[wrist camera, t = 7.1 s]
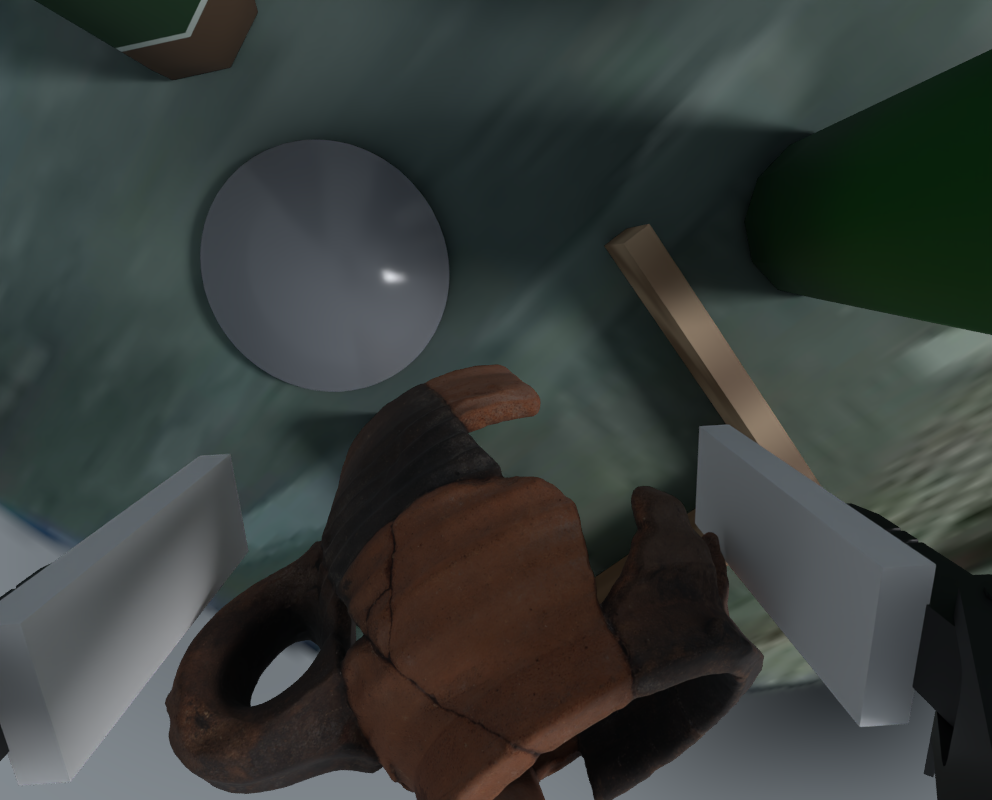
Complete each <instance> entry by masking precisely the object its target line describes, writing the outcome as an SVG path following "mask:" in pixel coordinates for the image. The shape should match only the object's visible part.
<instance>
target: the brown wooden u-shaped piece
mask: <svg viewBox="0 0 992 800" xmlns="http://www.w3.org/2000/svg"><path fill="white" fill-rule="evenodd" d="M605 248H606V249H607V251H608V252H609V254H610V255H611V257H612V258H613V260H614V261H615V262H616V264H617V265H618V267H619V268H620V270H621V271H622V273H623V274H624V276H625V277H626V279H627V280H628V281H629V283H630V284H631V286H632V287H633V289H634V290H635V292H636V293H637V295H638V296H639V298H640V299H641V300H642V302H643V303H644V305H645V306H646V308H647V309H648V311H649V312H650V314H651V315H652V317H653V318H654V319H655V321H656V322H657V324H658V325H659V327H660V328H661V330H662V331H663V333H664V334H665V336H666V337H667V339H668V340H669V341H670V343H671V344H672V346H673V347H674V349H675V350H676V352H677V353H678V355H679V356H680V358H681V359H682V360H683V362H684V363H685V365H686V366H687V368H688V369H689V371H690V372H691V374H692V375H693V377H694V378H695V379H696V381H697V382H698V384H699V385H700V387H701V388H702V390H703V391H704V393H705V394H706V396H707V397H708V398H709V400H710V401H711V403H712V404H713V406H714V407H715V409H716V410H717V412H718V413H719V415H720V416H721V418H722V419H723V420H724V422H725V423H726V425H728V424H729V425H730V426H732V427H733V428H735V429H736V430H738V431H739V432H741V433H742V434H744V435H745V436H747V437H748V438H750V439H751V440H753V441H754V442H756V443H757V444H759V445H760V446H762V447H763V448H765V449H766V450H767V451H769V452H770V453H772V454H773V455H775V456H776V457H778V458H779V459H781V460H782V461H784V462H785V463H787V464H788V465H790V466H791V467H793V468H794V469H796V470H797V471H799V472H800V473H801V474H803V475H804V476H806V477H807V478H809V479H810V480H812V481H813V482H815V483H816V484H818V485H819V486H821V485H820V484H819V482H818V480H817V479H816V477H815V476H814V474H813V473H812V471H811V470H810V468H809V467H808V465H807V464H806V462H805V461H804V459H803V458H802V456H801V454H800V453H799V451H798V450H797V448H796V447H795V445H794V444H793V442H792V441H791V439H790V438H789V436H788V435H787V433H786V432H785V430H784V429H783V427H782V425H781V424H780V422H779V421H778V419H777V418H776V416H775V415H774V413H773V412H772V410H771V409H770V407H769V406H768V404H767V403H766V401H765V399H764V398H763V396H762V395H761V393H760V392H759V390H758V389H757V387H756V386H755V384H754V383H753V381H752V380H751V378H750V377H749V375H748V374H747V372H746V370H745V369H744V367H743V366H742V364H741V363H740V361H739V360H738V358H737V357H736V355H735V354H734V352H733V351H732V349H731V348H730V346H729V345H728V343H727V341H726V340H725V338H724V337H723V335H722V334H721V332H720V331H719V329H718V328H717V326H716V325H715V323H714V322H713V320H712V319H711V317H710V315H709V314H708V312H707V311H706V309H705V308H704V306H703V305H702V303H701V302H700V300H699V299H698V297H697V296H696V294H695V293H694V291H693V290H692V288H691V286H690V285H689V283H688V282H687V280H686V279H685V277H684V276H683V274H682V273H681V271H680V270H679V268H678V267H677V265H676V264H675V262H674V261H673V259H672V257H671V256H670V254H669V253H668V251H667V250H666V248H665V247H664V245H663V244H662V242H661V241H660V239H659V238H658V236H657V235H656V233H655V231H654V230H653V228H652V227H651V225H650V224H646V225H641V226H636V227H631V228H627V229H625V230H624V231H623V232H621V233H620V234H619V235H618V236H616V237H615V238H614V239H612V240H611V241H610V242H608V243H607V244H606V245H605ZM695 512H696V508H695V509H694V510H692V511H691V512H689V513H688V517H689V521H690V524H691V526H692V528H693V529H694V530H695V531H696V532H697V533H698V534H699V535H700V536H701V537H702V536H703V535H704V534H703V533H702V531H701V530H700V529H699V528H698V526H697V525H696V524H695ZM628 555H629V554H628ZM628 555H627V556H625V557H624V558H622V559H621V560H620V561H618V562H617V563H615V564H614V565H612V566H611V567H609V568H608V569H606V570H605V571H604V572H602V573H601V574H599V575H598V576H596V577H595V581H596V587H597V598H598V601H599V604H601V603H602V602H603V601H604V599H605V598H606V596H607V595H608V593H609V592H610V590H611V587H612V586H613V584H614V583H615V582H616V580H617V579H618V578H619V576H620V574H621V572H622V569H623V567H624V564H625V562H626V560H627V557H628ZM725 562H726V561H725ZM726 566H728V564H727V562H726Z"/></svg>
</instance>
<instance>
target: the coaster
mask: <svg viewBox="0 0 992 800" xmlns="http://www.w3.org/2000/svg"><path fill="white" fill-rule="evenodd" d="M200 261H201V274H202V279H203V284H204V289H205V292H206V295H207V299H208V302H209V305H210V307H211V309H212V311H213V313H214V315H215V318H216V320H217V321H218V323H219V325H220V326H221V328H222V329H223V331H224V333H225V334H226V335H227V337H228V338H229V339H230V340H231V342H232V343H233V344H234V345H235V347H236V348H237V349H238V350H239V351H240V352H241V353H242V354H243V355H244V356H245V357H247V358H248V359H249V360H250V361H251V362H253V363H254V364H255V365H257V366H258V367H259V368H260V369H262V370H264V371H265V372H267V373H269V374H270V375H272V376H274V377H276V378H278V379H280V380H283V381H285V382H287V383H289V384H293V385H296V386H299V387H302V388H306V389H312V390H317V391H331V392H338V391H351V390H356V389H361V388H365V387H368V386H371V385H374V384H377V383H380V382H382V381H384V380H386V379H388V378H390V377H392V376H394V375H395V374H397V373H398V372H399V371H401V370H402V369H404V368H405V367H406V366H408V365H409V364H410V363H411V362H412V361H413V360H414V359H415V358H416V357H417V356H418V355H419V354H420V353H421V352H422V350H423V349H424V348H425V347H426V346H427V344H428V343H429V341H430V339H431V338H432V336H433V335H434V333H435V331H436V329H437V327H438V325H439V323H440V321H441V318H442V316H443V312H444V309H445V306H446V303H447V297H448V291H449V279H450V269H449V257H448V252H447V247H446V242H445V239H444V236H443V233H442V230H441V227H440V224H439V222H438V220H437V218H436V216H435V214H434V212H433V210H432V209H431V207H430V206H429V204H428V203H427V201H426V199H425V198H424V196H423V195H422V194H421V193H420V191H419V190H418V189H417V188H416V187H415V186H414V184H413V183H412V182H411V181H410V180H409V179H408V178H407V177H406V176H405V175H404V174H402V173H401V172H400V171H399V170H398V169H397V168H395V167H394V166H393V165H391V164H390V163H388V162H387V161H385V160H384V159H383V158H381V157H379V156H377V155H375V154H373V153H371V152H369V151H367V150H364V149H362V148H359V147H356V146H354V145H351V144H346V143H342V142H337V141H330V140H318V139H315V140H299V141H294V142H290V143H285V144H281V145H278V146H276V147H273V148H270V149H268V150H266V151H264V152H262V153H260V154H258V155H256V156H254V157H253V158H251V159H250V160H249V161H247V162H246V163H245V164H243V165H242V166H241V167H239V168H238V169H237V170H236V171H235V172H234V173H233V174H232V175H231V176H230V177H229V179H228V180H227V181H226V182H225V184H224V185H223V186H222V188H221V189H220V191H219V192H218V194H217V195H216V197H215V199H214V201H213V203H212V205H211V207H210V209H209V212H208V215H207V218H206V221H205V224H204V229H203V233H202V238H201V251H200Z"/></svg>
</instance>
